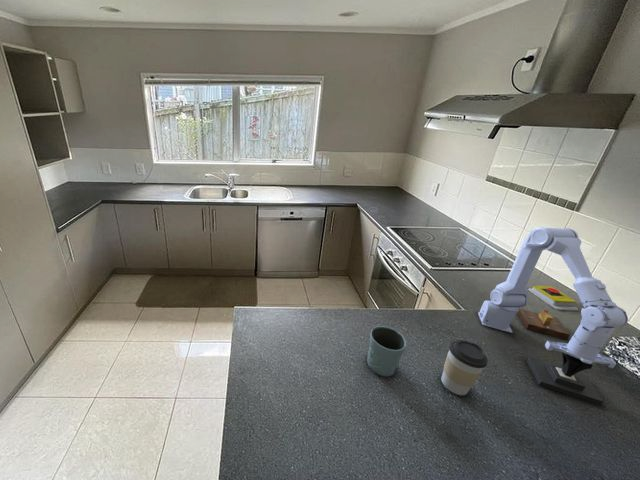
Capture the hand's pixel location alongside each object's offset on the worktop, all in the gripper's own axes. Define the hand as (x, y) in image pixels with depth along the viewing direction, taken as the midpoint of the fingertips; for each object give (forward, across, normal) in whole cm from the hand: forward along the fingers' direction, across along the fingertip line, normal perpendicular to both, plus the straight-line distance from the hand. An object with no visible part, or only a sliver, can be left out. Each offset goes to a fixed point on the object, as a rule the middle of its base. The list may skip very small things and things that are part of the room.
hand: (566, 373), depth 86 cm
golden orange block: (+1, +5, +30) cm, 30 cm away
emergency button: (+4, +17, +55) cm, 58 cm away
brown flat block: (+3, +5, +30) cm, 31 cm away
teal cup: (+4, -52, -20) cm, 56 cm away
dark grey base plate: (+3, 0, 0) cm, 3 cm away
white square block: (+2, 0, 0) cm, 2 cm away
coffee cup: (+4, -31, -17) cm, 36 cm away
